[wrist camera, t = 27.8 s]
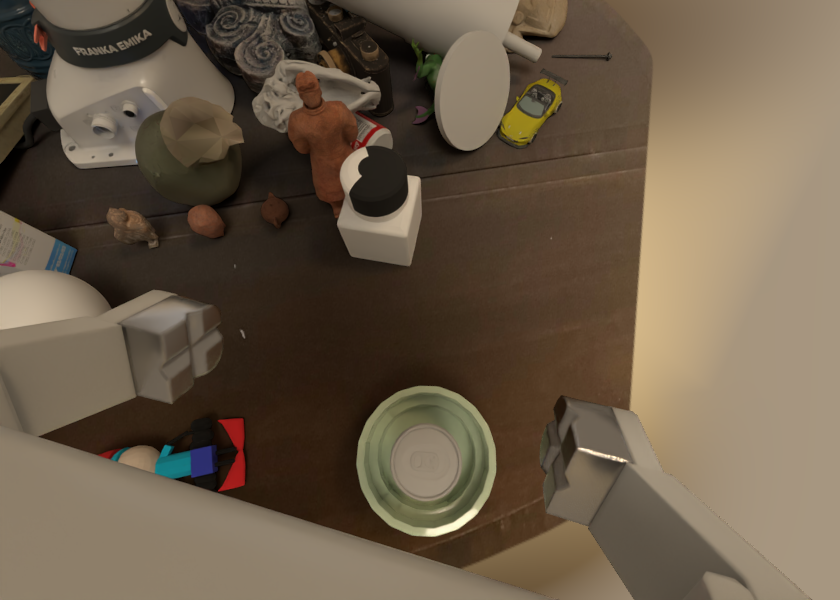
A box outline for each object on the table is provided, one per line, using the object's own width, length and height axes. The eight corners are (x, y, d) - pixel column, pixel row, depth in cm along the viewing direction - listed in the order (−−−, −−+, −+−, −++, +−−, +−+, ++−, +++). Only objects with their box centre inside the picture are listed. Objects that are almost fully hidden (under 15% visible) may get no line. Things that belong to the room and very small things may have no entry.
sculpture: (263, -42, 62) (358, 74, 54) (172, 0, 60) (257, 128, 52) (240, -106, 55) (346, 19, 47) (134, -60, 52) (227, 79, 44)
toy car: (490, 134, 49) (494, 117, 46) (533, 83, 51) (538, 64, 48) (524, 154, 48) (530, 137, 45) (566, 101, 50) (574, 82, 47)
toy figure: (247, 410, 40) (81, 445, 36) (233, 409, 35) (41, 449, 32) (254, 489, 38) (79, 532, 35) (240, 498, 33) (36, 550, 30)
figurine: (433, -87, 48) (587, -58, 49) (429, -39, 56) (563, -15, 57) (419, 17, 49) (571, 43, 50) (417, 51, 56) (550, 73, 57)
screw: (609, 62, 53) (609, 55, 53) (612, 57, 52) (612, 50, 52) (550, 62, 54) (550, 55, 54) (552, 57, 53) (552, 50, 53)
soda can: (392, 163, 49) (322, 120, 52) (397, 123, 44) (320, 78, 47) (364, 182, 46) (291, 136, 49) (366, 141, 41) (286, 93, 44)
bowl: (383, 536, 34) (374, 555, 29) (357, 411, 38) (344, 406, 32) (502, 499, 35) (516, 511, 29) (464, 380, 39) (470, 370, 33)
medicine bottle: (422, 214, 46) (419, 140, 34) (410, 267, 43) (403, 207, 32) (364, 205, 46) (343, 130, 35) (349, 257, 44) (321, 195, 33)
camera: (298, 56, 55) (276, -5, 47) (338, 36, 56) (323, -27, 48) (358, 130, 50) (345, 75, 42) (401, 107, 51) (396, 49, 43)
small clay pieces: (140, 278, 43) (-48, 174, 26) (138, 231, 45) (-38, 107, 28) (379, 214, 45) (348, 80, 28) (366, 172, 47) (331, 24, 30)
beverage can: (452, 484, 35) (462, 506, 24) (399, 480, 35) (384, 500, 24) (453, 428, 37) (464, 424, 25) (403, 425, 37) (391, 420, 26)
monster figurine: (467, 4, 37) (399, 7, 44) (425, 130, 41) (367, 116, 47) (522, 64, 46) (460, 59, 53) (484, 162, 50) (430, 147, 56)
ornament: (23, 339, 41) (-131, 302, 30) (107, 276, 43) (-7, 220, 32) (68, 408, 39) (-82, 397, 27) (155, 337, 41) (50, 299, 30)
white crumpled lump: (262, 152, 42) (354, 141, 49) (295, 135, 35) (397, 125, 42) (238, 72, 39) (338, 72, 46) (269, 36, 32) (381, 43, 40)
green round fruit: (109, 85, 33) (228, 74, 39) (115, 141, 43) (210, 126, 48) (168, 197, 35) (273, 171, 41) (162, 227, 45) (247, 202, 50)
